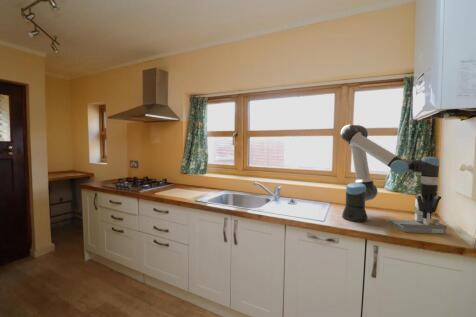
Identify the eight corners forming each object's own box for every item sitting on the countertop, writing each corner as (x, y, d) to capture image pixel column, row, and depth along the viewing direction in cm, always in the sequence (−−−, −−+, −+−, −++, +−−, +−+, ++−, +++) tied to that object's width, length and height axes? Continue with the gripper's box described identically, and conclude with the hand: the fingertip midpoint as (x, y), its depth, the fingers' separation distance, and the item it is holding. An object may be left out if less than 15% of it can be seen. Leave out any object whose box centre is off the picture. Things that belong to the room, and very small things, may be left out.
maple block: (429, 227, 128) (430, 219, 127) (423, 224, 133) (423, 216, 132) (438, 228, 127) (439, 219, 127) (431, 224, 132) (432, 216, 132)
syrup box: (428, 224, 140) (429, 201, 139) (416, 223, 143) (418, 200, 142) (424, 221, 145) (426, 199, 145) (413, 220, 148) (415, 198, 147)
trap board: (403, 232, 127) (404, 224, 127) (388, 223, 141) (388, 216, 141) (445, 233, 126) (446, 225, 126) (426, 224, 140) (426, 217, 140)
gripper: (422, 184, 125) (419, 225, 126) (446, 185, 124) (443, 226, 125) (412, 182, 132) (410, 221, 134) (435, 183, 131) (432, 222, 133)
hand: (426, 223), depth 129 cm, fingers closed
